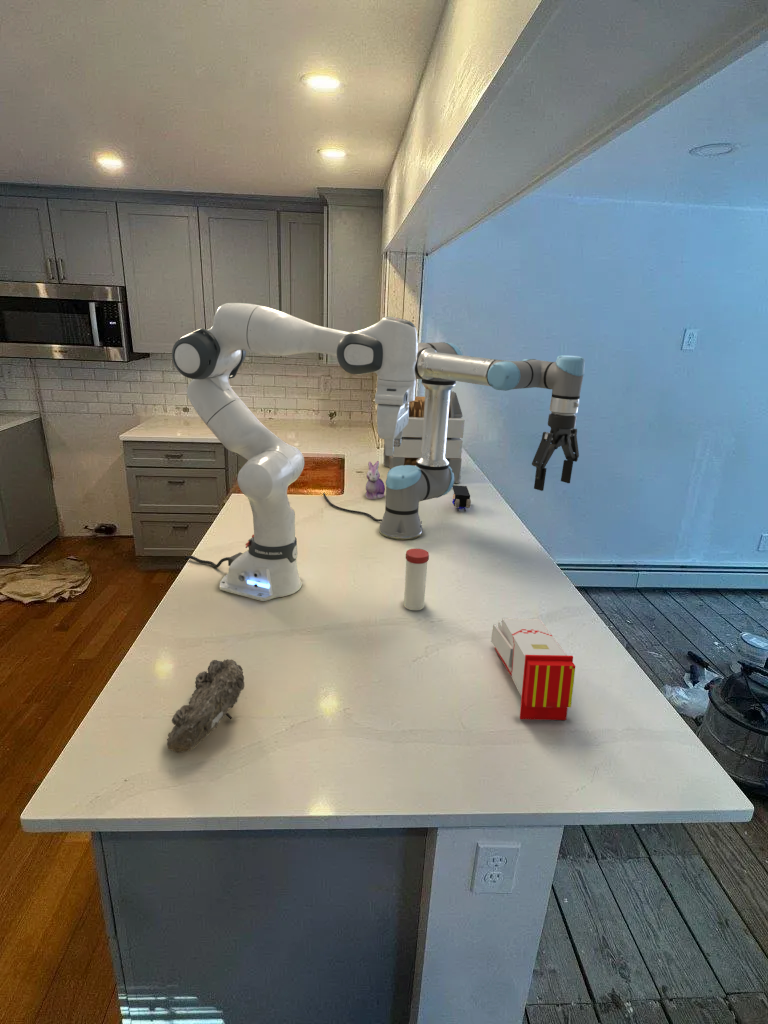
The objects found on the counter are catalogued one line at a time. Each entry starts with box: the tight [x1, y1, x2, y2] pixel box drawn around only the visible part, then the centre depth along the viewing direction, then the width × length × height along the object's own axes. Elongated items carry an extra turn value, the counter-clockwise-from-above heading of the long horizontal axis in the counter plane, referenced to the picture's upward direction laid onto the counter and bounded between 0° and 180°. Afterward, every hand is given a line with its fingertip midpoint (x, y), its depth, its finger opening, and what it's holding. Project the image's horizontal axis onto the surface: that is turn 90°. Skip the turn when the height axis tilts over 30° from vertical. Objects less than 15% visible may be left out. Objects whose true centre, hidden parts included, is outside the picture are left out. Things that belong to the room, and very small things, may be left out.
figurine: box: [364, 460, 386, 500], centre depth 235 cm, size 9×10×15 cm
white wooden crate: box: [383, 390, 465, 484], centre depth 268 cm, size 34×33×41 cm
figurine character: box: [451, 484, 472, 513], centre depth 228 cm, size 7×8×15 cm
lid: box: [405, 548, 430, 564], centre depth 147 cm, size 6×6×2 cm
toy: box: [490, 617, 576, 721], centre depth 122 cm, size 12×13×30 cm
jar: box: [403, 559, 428, 611], centre depth 150 cm, size 6×6×15 cm
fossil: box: [166, 658, 245, 754], centre depth 106 cm, size 22×10×15 cm
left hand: (393, 450), depth 135 cm, fingers open, 8 cm apart
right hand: (552, 485), depth 166 cm, fingers open, 13 cm apart
